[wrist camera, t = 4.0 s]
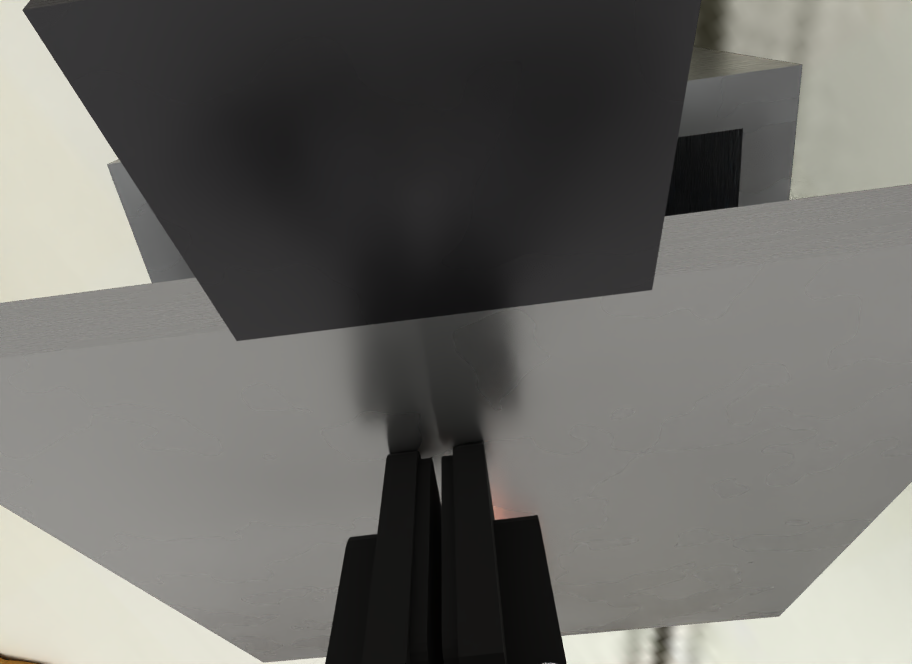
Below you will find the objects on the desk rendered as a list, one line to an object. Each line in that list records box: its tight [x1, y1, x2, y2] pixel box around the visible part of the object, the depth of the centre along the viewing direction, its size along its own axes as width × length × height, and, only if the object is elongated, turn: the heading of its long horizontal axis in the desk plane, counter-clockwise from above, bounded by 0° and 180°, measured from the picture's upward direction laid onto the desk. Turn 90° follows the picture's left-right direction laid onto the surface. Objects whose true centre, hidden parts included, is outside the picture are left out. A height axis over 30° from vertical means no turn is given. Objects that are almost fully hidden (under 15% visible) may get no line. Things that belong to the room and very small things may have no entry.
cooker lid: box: [0, 0, 912, 662], centre depth 12 cm, size 17×21×3 cm
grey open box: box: [107, 47, 802, 283], centre depth 24 cm, size 20×16×12 cm
